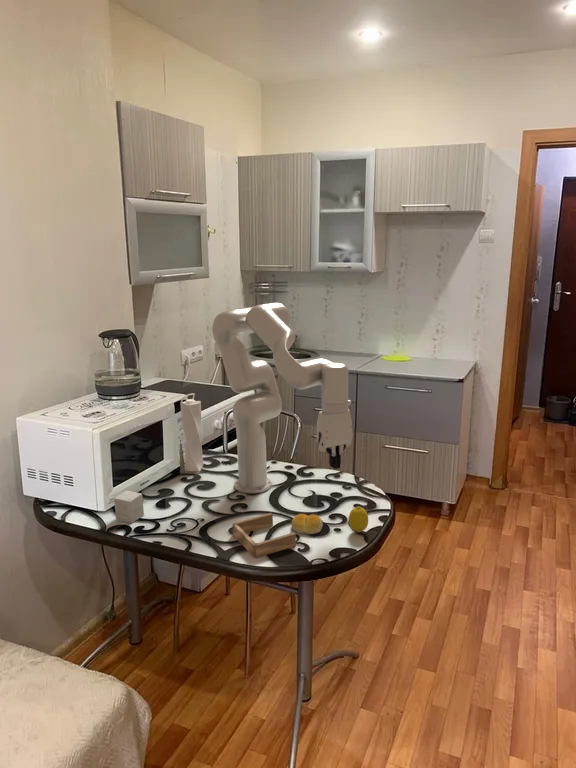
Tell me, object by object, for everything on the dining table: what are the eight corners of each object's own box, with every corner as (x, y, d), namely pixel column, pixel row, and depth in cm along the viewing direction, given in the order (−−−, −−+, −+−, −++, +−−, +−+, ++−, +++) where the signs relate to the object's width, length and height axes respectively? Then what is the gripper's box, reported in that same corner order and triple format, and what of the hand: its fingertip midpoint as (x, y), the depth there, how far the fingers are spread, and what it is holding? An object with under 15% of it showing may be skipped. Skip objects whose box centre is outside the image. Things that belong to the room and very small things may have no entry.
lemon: (366, 527, 171) (366, 502, 169) (369, 537, 166) (370, 511, 164) (347, 528, 171) (347, 502, 169) (350, 537, 165) (350, 511, 163)
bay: (232, 534, 168) (231, 523, 167) (271, 523, 174) (271, 512, 173) (254, 558, 156) (254, 546, 155) (295, 545, 162) (295, 533, 161)
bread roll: (295, 520, 176) (294, 508, 175) (324, 523, 174) (324, 511, 173) (288, 533, 169) (287, 521, 168) (318, 537, 166) (318, 524, 165)
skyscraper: (185, 464, 220) (181, 392, 213) (207, 465, 219) (203, 392, 212) (179, 473, 212) (174, 399, 205) (201, 474, 211) (197, 399, 204)
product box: (144, 515, 181) (142, 493, 179) (131, 524, 175) (129, 501, 174) (128, 511, 183) (126, 490, 181) (115, 520, 178) (113, 498, 176)
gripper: (349, 399, 174) (348, 458, 178) (305, 407, 167) (306, 468, 171) (364, 405, 167) (363, 466, 172) (319, 414, 160) (320, 477, 165)
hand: (335, 467), depth 172 cm, fingers closed
